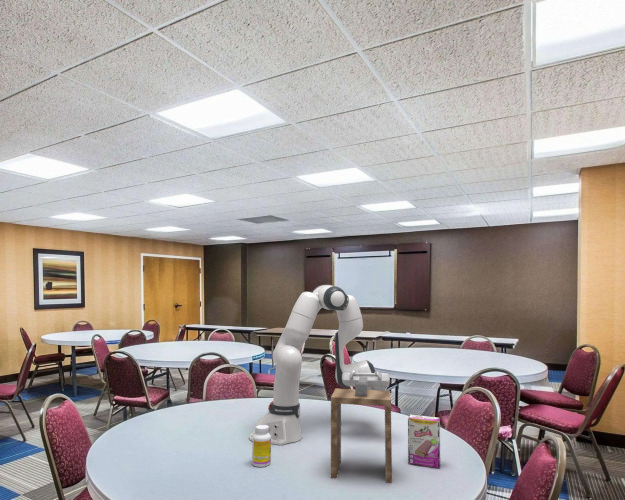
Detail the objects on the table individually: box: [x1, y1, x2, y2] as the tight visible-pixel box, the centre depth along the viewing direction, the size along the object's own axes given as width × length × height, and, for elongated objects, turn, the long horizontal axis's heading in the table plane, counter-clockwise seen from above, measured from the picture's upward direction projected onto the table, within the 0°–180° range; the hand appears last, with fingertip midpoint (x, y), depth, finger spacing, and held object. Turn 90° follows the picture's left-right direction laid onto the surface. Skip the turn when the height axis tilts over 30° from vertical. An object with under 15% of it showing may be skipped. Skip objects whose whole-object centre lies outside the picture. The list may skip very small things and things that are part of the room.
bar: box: [354, 377, 368, 397], centre depth 150 cm, size 4×20×4 cm, turn 170°
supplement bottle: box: [251, 425, 272, 468], centre depth 147 cm, size 7×7×13 cm
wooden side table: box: [330, 387, 393, 484], centre depth 142 cm, size 20×14×26 cm
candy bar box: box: [407, 413, 441, 469], centre depth 149 cm, size 11×5×16 cm, turn 71°
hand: (364, 372), depth 169 cm, fingers open, 8 cm apart
